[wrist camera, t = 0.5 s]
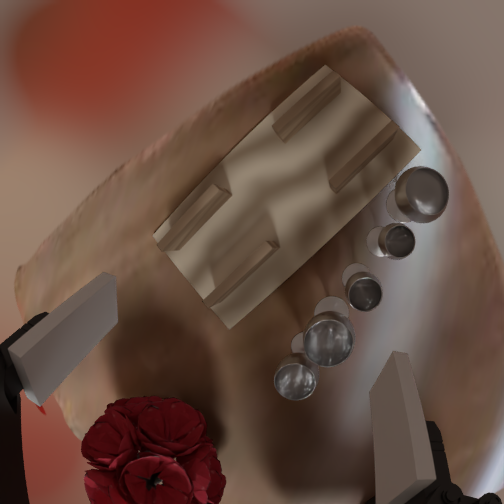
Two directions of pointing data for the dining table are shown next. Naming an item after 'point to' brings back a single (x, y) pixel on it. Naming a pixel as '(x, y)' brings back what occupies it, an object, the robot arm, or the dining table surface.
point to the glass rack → (283, 194)
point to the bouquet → (151, 455)
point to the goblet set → (360, 284)
